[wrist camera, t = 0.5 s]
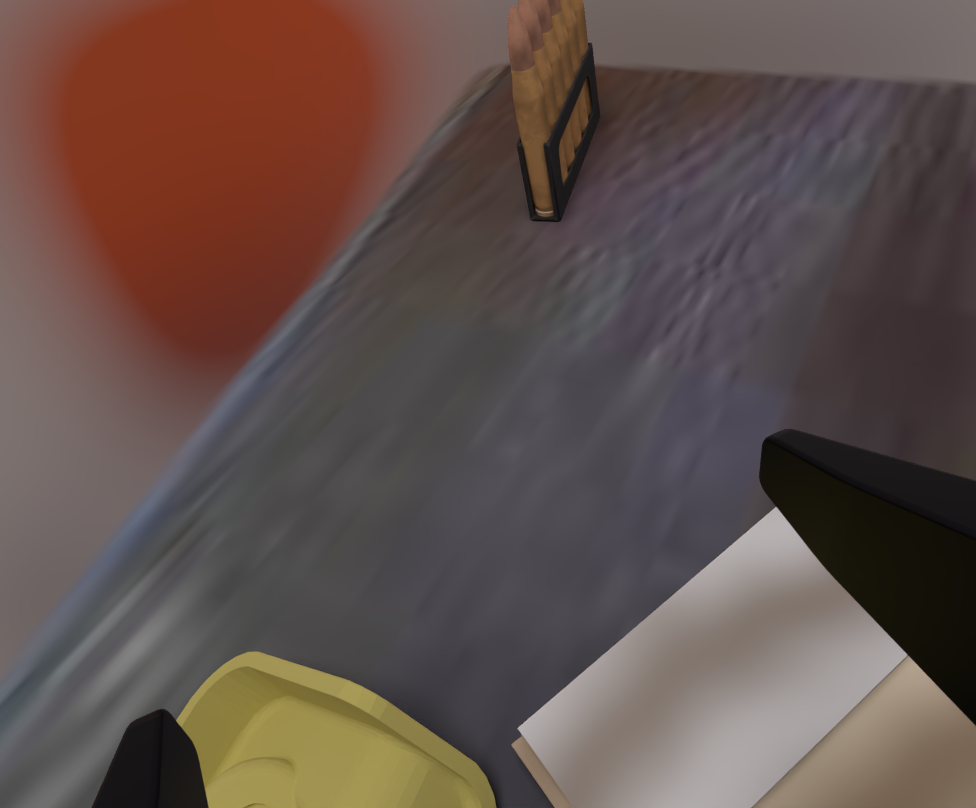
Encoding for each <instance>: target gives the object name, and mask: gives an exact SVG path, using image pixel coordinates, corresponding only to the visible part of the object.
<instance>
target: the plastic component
mask: <svg viewBox="0 0 976 808" xmlns="http://www.w3.org/2000/svg"><path fill="white" fill-rule="evenodd" d="M176 721H177V722H178V724H179V725H180V726H181V727H182V729H183V730H184V731H185V732H186V734H187V735H188V736H189V737H190V739H191V740H192V742H193V744H194V746H195V748H196V751H197V754H198V757H199V762H200V767H201V772H202V777H203V782H204V786H205V791H206V796H207V801H208V806H209V808H496V803H495V798H494V794H493V791H492V789H491V787H490V784H489V782H488V780H487V777H486V776H485V774H484V773H483V772H482V770H481V769H480V768H479V766H478V765H477V764H476V763H475V762H474V761H472V760H471V759H470V758H468V757H467V756H465V755H464V754H462V753H461V752H460V751H458V750H457V749H455V748H454V747H452V746H451V745H449V744H448V743H447V742H445V741H444V740H442V739H441V738H439V737H438V736H437V735H435V734H434V733H432V732H431V731H429V730H428V729H427V728H425V727H424V726H422V725H421V724H419V723H418V722H417V721H415V720H414V719H412V718H411V717H409V716H408V715H407V714H405V713H404V712H402V711H401V710H399V709H398V708H397V707H395V706H394V705H392V704H391V703H389V702H388V701H386V700H385V699H383V698H382V697H380V696H378V695H377V694H375V693H373V692H371V691H369V690H368V689H366V688H364V687H362V686H360V685H358V684H355V683H353V682H351V681H349V680H346V679H343V678H340V677H336V676H333V675H330V674H327V673H324V672H321V671H317V670H314V669H311V668H308V667H305V666H302V665H298V664H295V663H292V662H289V661H286V660H283V659H279V658H276V657H273V656H270V655H267V654H264V653H260V652H247V653H245V654H242V655H239V656H237V657H235V658H233V659H232V660H230V661H229V662H227V663H225V664H224V665H223V666H221V667H220V668H219V669H218V670H217V671H216V672H214V673H213V674H212V675H211V676H210V677H209V678H208V679H207V680H206V681H205V682H204V683H203V684H202V686H201V687H200V688H199V689H198V691H197V692H196V693H195V694H194V695H193V697H192V698H191V699H190V701H189V702H188V704H187V705H186V707H185V708H184V710H183V711H182V713H181V714H180V716H179V717H178V719H177V720H176Z"/></svg>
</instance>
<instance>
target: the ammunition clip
mask: <svg viewBox="0 0 976 808" xmlns="http://www.w3.org/2000/svg"><path fill="white" fill-rule="evenodd" d="M507 37H508V48H509V57H510V63H511V73H512V79H513V100H514V106H515V111H516V116H517V122H518V127H519V132H520V138H519V140H518V143H517V149H518V154H519V160H520V165H521V170H522V175H523V181H524V186H525V191H526V197H527V202H528V207H529V212H530V218H531V220H555V221H559V220H561V219H562V216H563V213H564V211H565V208H566V205H567V203H568V200H569V197H570V195H571V192H572V189H573V187H574V184H575V181H576V179H577V176H578V173H579V171H580V168H581V166H582V163H583V160H584V158H585V155H586V152H587V150H588V147H589V144H590V142H591V139H592V136H593V134H594V131H595V128H596V126H597V123H598V120H599V118H600V112H599V103H598V93H597V84H596V75H595V66H594V57H593V48H592V43H588V39H587V31H586V21H585V11H584V4H583V0H518V10H517V8H516V7H515V6H511V8H510V11H509V15H508V27H507Z"/></svg>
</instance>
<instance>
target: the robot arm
mask: <svg viewBox="0 0 976 808" xmlns="http://www.w3.org/2000/svg"><path fill="white" fill-rule="evenodd" d="M759 479H760V483H761V486H762V488H763V490H764V491H765V493H766V494H767V495H768V497H769V498H770V499H771V501H772V502H773V503H774V504H775V506H776V507H777V508H778V510H779V511H780V512H781V513H782V515H783V516H784V517H785V518H786V520H787V521H788V522H789V524H790V525H791V526H792V527H793V529H794V530H795V531H796V533H797V534H798V535H799V536H800V538H801V539H802V540H803V542H804V543H805V544H806V545H807V547H808V548H809V549H810V550H811V552H812V553H813V554H814V556H815V557H816V558H817V559H818V560H819V562H820V563H821V564H822V565H823V566H824V568H825V569H826V570H827V571H828V572H829V573H830V574H831V575H832V576H833V578H834V579H835V580H836V581H837V582H838V583H839V584H840V585H841V586H842V587H843V588H844V589H845V590H846V591H847V592H848V593H849V594H850V595H851V596H852V597H853V599H854V600H855V601H856V602H857V603H858V604H859V605H860V606H861V607H862V608H863V609H864V610H865V611H866V612H867V613H868V614H869V615H870V616H871V617H872V618H873V619H874V620H875V621H876V623H877V624H878V625H879V626H880V627H881V628H882V629H883V630H884V631H885V632H886V633H887V634H888V635H889V636H890V637H891V638H892V639H893V640H894V641H895V642H896V643H897V644H898V646H899V647H900V648H901V649H902V650H903V651H904V652H905V653H906V654H907V655H908V656H909V657H910V658H911V659H912V660H913V661H914V662H915V663H916V664H917V665H918V666H919V667H920V668H921V670H922V671H923V672H924V673H925V674H926V675H927V676H928V677H929V678H930V679H931V680H932V681H933V682H934V683H935V684H936V685H937V686H938V687H939V688H940V689H941V690H942V691H943V692H944V694H945V695H946V696H947V697H948V698H949V699H950V700H951V701H952V702H953V703H954V704H955V705H956V706H957V707H958V708H959V709H960V710H961V711H962V712H963V713H964V714H965V715H966V717H967V718H968V719H969V720H970V721H971V722H972V723H973V724H974V725H975V726H976V481H975V480H972V479H968V478H965V477H961V476H957V475H954V474H950V473H947V472H943V471H940V470H936V469H933V468H929V467H926V466H922V465H918V464H915V463H911V462H908V461H904V460H901V459H897V458H894V457H890V456H887V455H883V454H879V453H876V452H872V451H869V450H865V449H862V448H858V447H855V446H851V445H847V444H844V443H840V442H837V441H833V440H830V439H826V438H823V437H819V436H816V435H812V434H808V433H805V432H801V431H798V430H794V429H785V430H782V431H779V432H777V433H775V434H773V435H770V436H768V437H767V438H765V440H764V441H763V444H762V451H761V462H760V472H759ZM92 808H209V806H208V801H207V796H206V791H205V786H204V782H203V777H202V772H201V767H200V762H199V757H198V754H197V751H196V748H195V746H194V744H193V742H192V740H191V739H190V737H189V736H188V735H187V734H186V732H185V731H184V730H183V729H182V727H181V726H180V725H179V724H178V722H177V721H176V720H175V719H174V717H173V716H172V715H171V714H170V713H169V712H168V711H167V710H165V709H159V710H156V711H154V712H152V713H149V714H147V715H145V716H143V717H140V718H138V719H136V720H134V721H133V722H131V723H130V724H129V726H128V727H127V729H126V731H125V733H124V735H123V737H122V740H121V742H120V744H119V746H118V749H117V751H116V753H115V755H114V758H113V760H112V762H111V765H110V767H109V769H108V771H107V774H106V776H105V778H104V780H103V783H102V785H101V787H100V790H99V792H98V794H97V796H96V799H95V801H94V803H93V806H92Z"/></svg>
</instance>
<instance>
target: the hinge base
mask: <svg viewBox="0 0 976 808" xmlns="http://www.w3.org/2000/svg"><path fill="white" fill-rule="evenodd" d="M518 730H519V731H520V732H521V734H522V736H521V737H520V738H519V739H517V740H516V741H515V742H514V743H513V744H512V747H513V748H514V750H515V751H516V752H517V754H518V755H519V757H520V758H521V760H522V761H523V763H524V764H525V765H526V767H527V768H528V770H529V771H530V773H531V774H532V776H533V777H534V778H535V780H536V781H537V783H538V784H539V786H540V787H541V789H542V790H543V792H544V793H545V794H546V796H547V797H548V799H549V800H550V802H551V803H552V805H553V806H554V807H555V808H976V726H975V725H974V724H973V723H972V722H971V721H970V720H969V719H968V718H967V717H966V715H965V714H964V713H963V712H962V711H961V710H960V709H959V708H958V707H957V706H956V705H955V704H954V703H953V702H952V701H951V700H950V699H949V698H948V697H947V696H946V695H945V694H944V692H943V691H942V690H941V689H940V688H939V687H938V686H937V685H936V684H935V683H934V682H933V681H932V680H931V679H930V678H929V677H928V676H927V675H926V674H925V673H924V672H923V671H922V670H921V668H920V667H919V666H918V665H917V664H916V663H915V662H914V661H913V660H912V659H911V658H910V657H909V656H908V655H907V654H906V653H905V652H904V651H903V650H902V649H901V648H900V647H899V646H898V644H897V643H896V642H895V641H894V640H893V639H892V638H891V637H890V636H889V635H888V634H887V633H886V632H885V631H884V630H883V629H882V628H881V627H880V626H879V625H878V624H877V623H876V621H875V620H874V619H873V618H872V617H871V616H870V615H869V614H868V613H867V612H866V611H865V610H864V609H863V608H862V607H861V606H860V605H859V604H858V603H857V602H856V601H855V600H854V599H853V597H852V596H851V595H850V594H849V593H848V592H847V591H846V590H845V589H844V588H843V587H842V586H841V585H840V584H839V583H838V582H837V581H836V580H835V579H834V578H833V576H832V575H831V574H830V573H829V572H828V571H827V570H826V569H825V568H824V566H823V565H822V564H821V563H820V562H819V560H818V559H817V558H816V557H815V556H814V554H813V553H812V552H811V550H810V549H809V548H808V547H807V545H806V544H805V543H804V542H803V540H802V539H801V538H800V536H799V535H798V534H797V533H796V531H795V530H794V529H793V527H792V526H791V525H790V524H789V522H788V521H787V520H786V518H785V517H784V516H783V515H782V513H781V512H780V511H779V510H778V508H777V507H775V508H774V509H773V510H772V511H771V512H770V513H768V514H767V515H766V516H765V517H764V518H763V519H761V520H760V521H759V522H758V523H757V524H756V525H754V526H753V527H752V528H751V529H750V530H749V531H747V532H746V533H745V534H744V535H743V536H742V537H740V538H739V539H738V540H737V541H736V542H735V543H733V544H732V545H731V546H730V547H729V548H728V549H726V550H725V551H724V552H723V553H722V554H721V555H719V556H718V557H717V558H716V559H715V560H714V561H712V562H711V563H710V564H709V565H708V566H707V567H705V568H704V569H703V570H702V571H701V572H700V573H698V574H697V575H696V576H695V577H694V578H693V579H691V580H690V581H689V582H688V583H687V584H686V585H684V586H683V587H682V588H681V589H680V590H679V591H677V592H676V593H675V594H674V595H673V596H671V597H670V598H669V599H668V600H667V601H666V602H664V603H663V604H662V605H661V606H660V607H659V608H657V609H656V610H655V611H654V612H653V613H652V614H650V615H649V616H648V617H647V618H646V619H645V620H643V621H642V622H641V623H640V624H639V625H638V626H636V627H635V628H634V629H633V630H632V631H631V632H629V633H628V634H627V635H626V636H625V637H624V638H622V639H621V640H620V641H619V642H618V643H617V644H615V645H614V646H613V647H612V648H611V649H610V650H608V651H607V652H606V653H605V654H604V655H603V656H601V657H600V658H599V659H598V660H597V661H596V662H594V663H593V664H592V665H591V666H590V667H589V668H587V669H586V670H585V671H584V672H583V673H582V674H580V675H579V676H578V677H577V678H576V679H575V680H573V681H572V682H571V683H570V684H569V685H568V686H566V687H565V688H564V689H563V690H562V691H561V692H559V693H558V694H557V695H556V696H555V697H554V698H552V699H551V700H550V701H549V702H548V703H546V704H545V705H544V706H543V707H542V708H541V709H539V710H538V711H537V712H536V713H535V714H534V715H532V716H531V717H530V718H529V719H528V720H527V721H525V722H524V723H523V724H522V725H521V726H520V727H518Z"/></svg>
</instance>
